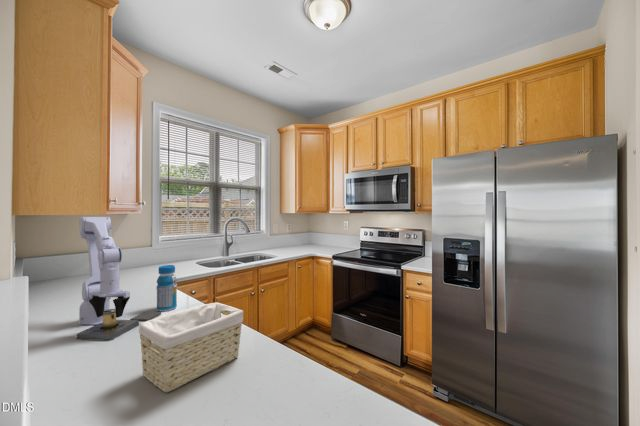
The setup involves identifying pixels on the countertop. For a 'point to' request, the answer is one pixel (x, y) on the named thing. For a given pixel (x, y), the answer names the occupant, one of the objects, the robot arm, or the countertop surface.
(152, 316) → the mat
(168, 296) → the blue bottle
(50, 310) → the countertop surface
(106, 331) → the housing
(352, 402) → the countertop surface
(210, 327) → the storage basket
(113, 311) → the cylindrical knob
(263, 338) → the countertop surface
